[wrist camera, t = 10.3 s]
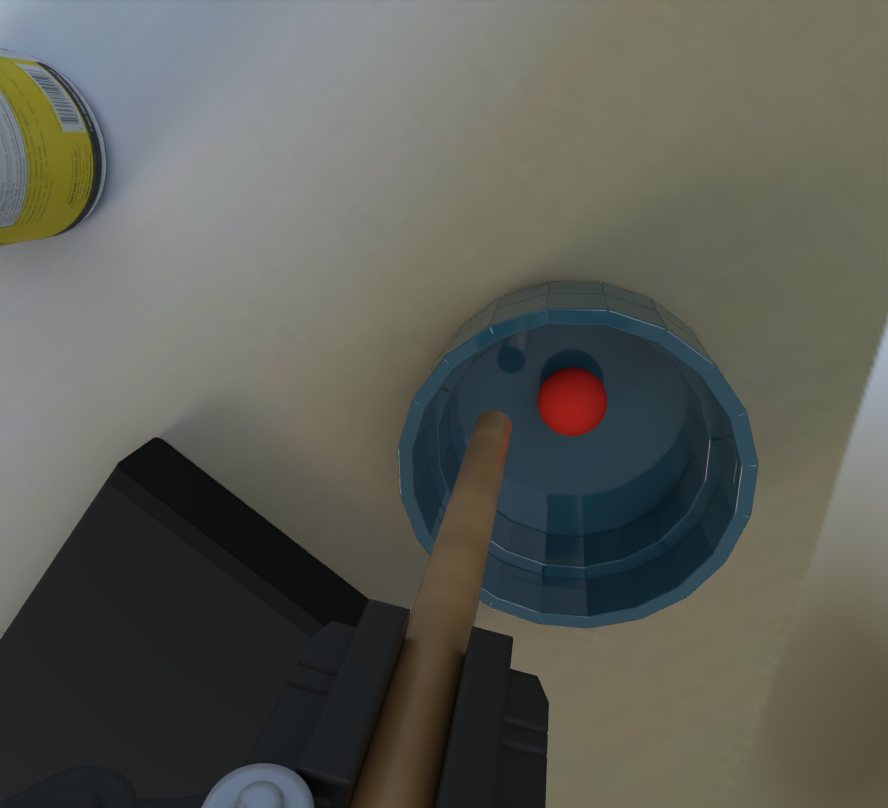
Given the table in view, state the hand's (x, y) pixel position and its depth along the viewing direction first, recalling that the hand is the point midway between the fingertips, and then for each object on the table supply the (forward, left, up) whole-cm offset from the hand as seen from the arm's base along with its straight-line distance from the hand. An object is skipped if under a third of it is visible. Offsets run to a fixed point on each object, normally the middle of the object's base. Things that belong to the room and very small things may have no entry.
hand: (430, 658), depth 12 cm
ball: (+1, +2, -14) cm, 14 cm away
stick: (0, 0, -11) cm, 11 cm away
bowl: (+2, +2, -15) cm, 16 cm away
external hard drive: (+10, -21, -16) cm, 28 cm away
